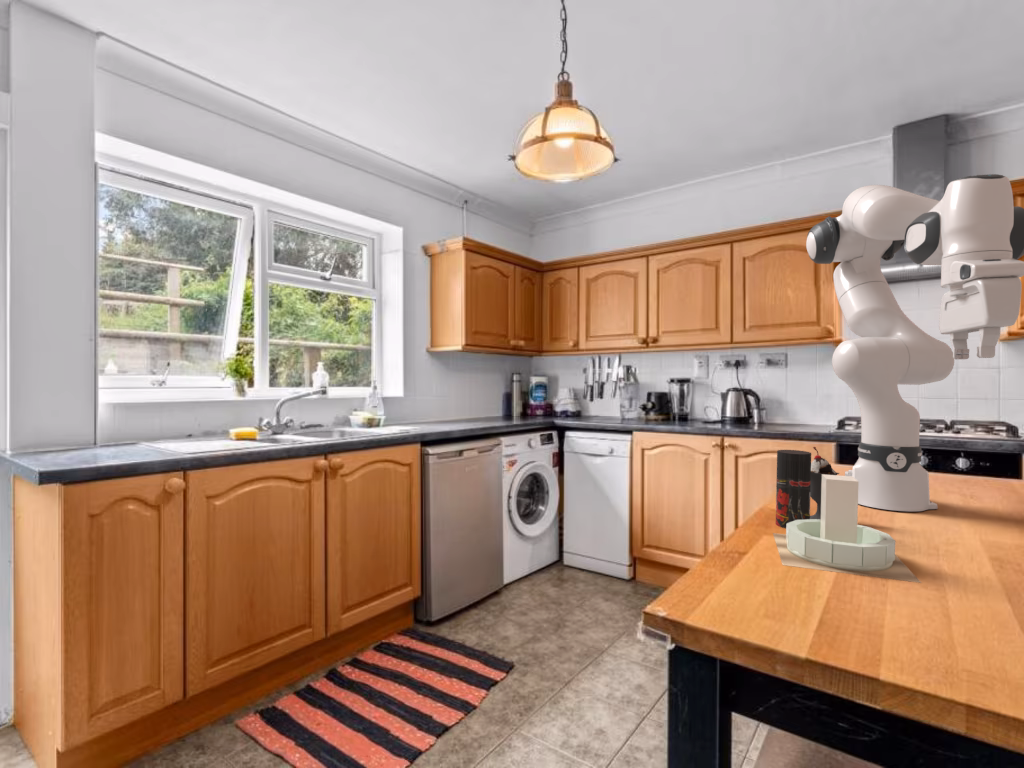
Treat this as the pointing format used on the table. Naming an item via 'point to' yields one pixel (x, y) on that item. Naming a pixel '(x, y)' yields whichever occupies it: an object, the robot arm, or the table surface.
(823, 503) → the tall white box
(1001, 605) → the table surface
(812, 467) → the sundae
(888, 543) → the bowl
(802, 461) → the deodorant
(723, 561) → the table surface
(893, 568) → the cork mat
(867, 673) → the table surface
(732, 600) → the table surface
